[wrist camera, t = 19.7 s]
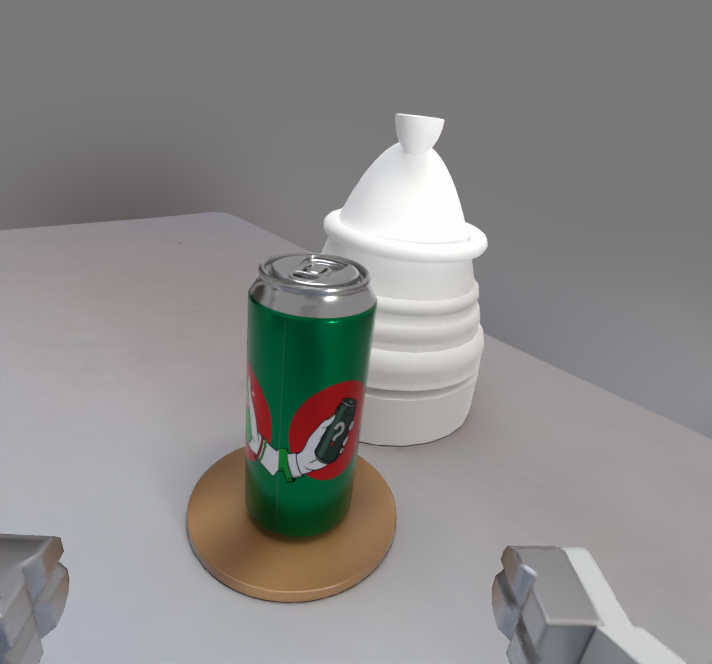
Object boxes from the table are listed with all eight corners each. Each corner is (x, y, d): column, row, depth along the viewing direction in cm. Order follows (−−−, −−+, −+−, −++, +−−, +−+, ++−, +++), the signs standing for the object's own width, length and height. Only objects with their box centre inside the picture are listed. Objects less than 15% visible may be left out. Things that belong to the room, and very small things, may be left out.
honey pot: (483, 458, 30) (568, 137, 23) (269, 431, 31) (282, 103, 23) (458, 357, 42) (508, 122, 34) (303, 338, 42) (319, 100, 35)
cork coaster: (138, 547, 22) (137, 537, 22) (258, 427, 31) (258, 418, 31) (350, 643, 19) (352, 632, 19) (417, 480, 28) (419, 472, 28)
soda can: (363, 486, 26) (395, 264, 21) (327, 561, 22) (357, 304, 17) (274, 458, 28) (284, 241, 22) (223, 524, 23) (222, 273, 18)
